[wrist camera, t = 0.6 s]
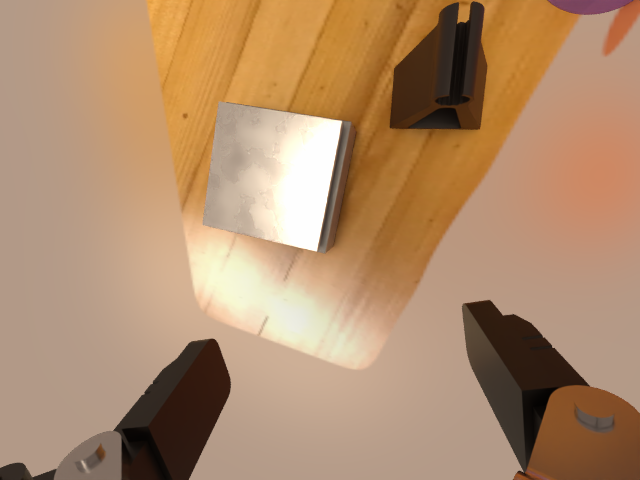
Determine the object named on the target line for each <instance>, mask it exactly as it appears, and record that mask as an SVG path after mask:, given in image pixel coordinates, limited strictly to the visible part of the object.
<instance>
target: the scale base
mask: <svg viewBox="0 0 640 480" xmlns="http://www.w3.org/2000/svg"><path fill="white" fill-rule="evenodd" d="M226 103H229V102H226ZM231 104H235V103H231ZM238 105H242V104H238ZM244 106H248V105H244ZM250 107H254V106H250ZM256 108H261V107H256ZM263 109H267V108H263ZM269 110H273V109H269ZM275 111H279V110H275ZM282 112H286V111H282ZM288 113H292V112H288ZM294 114H298V113H294ZM301 115H305V114H301ZM307 116H311V115H307ZM313 117H317V116H313ZM319 118H324V117H319ZM326 119H330V118H326ZM332 120H336V119H332ZM338 121H342V120H338ZM342 122H343V128H342V133H341V138H340V143H339V148H338V153H337V158H336V164H335V169H334V174H333V179H332V184H331V189H330V194H329V200H328V205H327V210H326V215H325V220H324V225H323V230H322V235H321V241H320V246H319V250H318V251H317V252H321V253H326V252H327V251H329V250H330V249H331V248H332V247H333V245H334V240H335V235H336V230H337V225H338V220H339V215H340V210H341V205H342V200H343V195H344V190H345V185H346V180H347V175H348V171H349V166H350V161H351V156H352V151H353V146H354V141H355V136H356V130H355V128H354V126H353V124H352V122H349V121H342ZM213 228H214V227H213ZM217 229H218V228H217ZM226 231H227V230H226ZM230 232H231V231H230ZM234 233H235V232H234ZM239 234H240V233H239ZM243 235H244V234H243ZM247 236H248V235H247ZM252 237H253V236H252ZM256 238H257V237H256ZM260 239H261V238H260ZM265 240H266V239H265ZM269 241H270V240H269ZM273 242H274V241H273ZM282 244H283V243H282ZM286 245H287V244H286ZM295 247H296V246H295ZM299 248H300V247H299ZM308 250H309V249H308ZM312 251H313V250H312Z"/></svg>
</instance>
